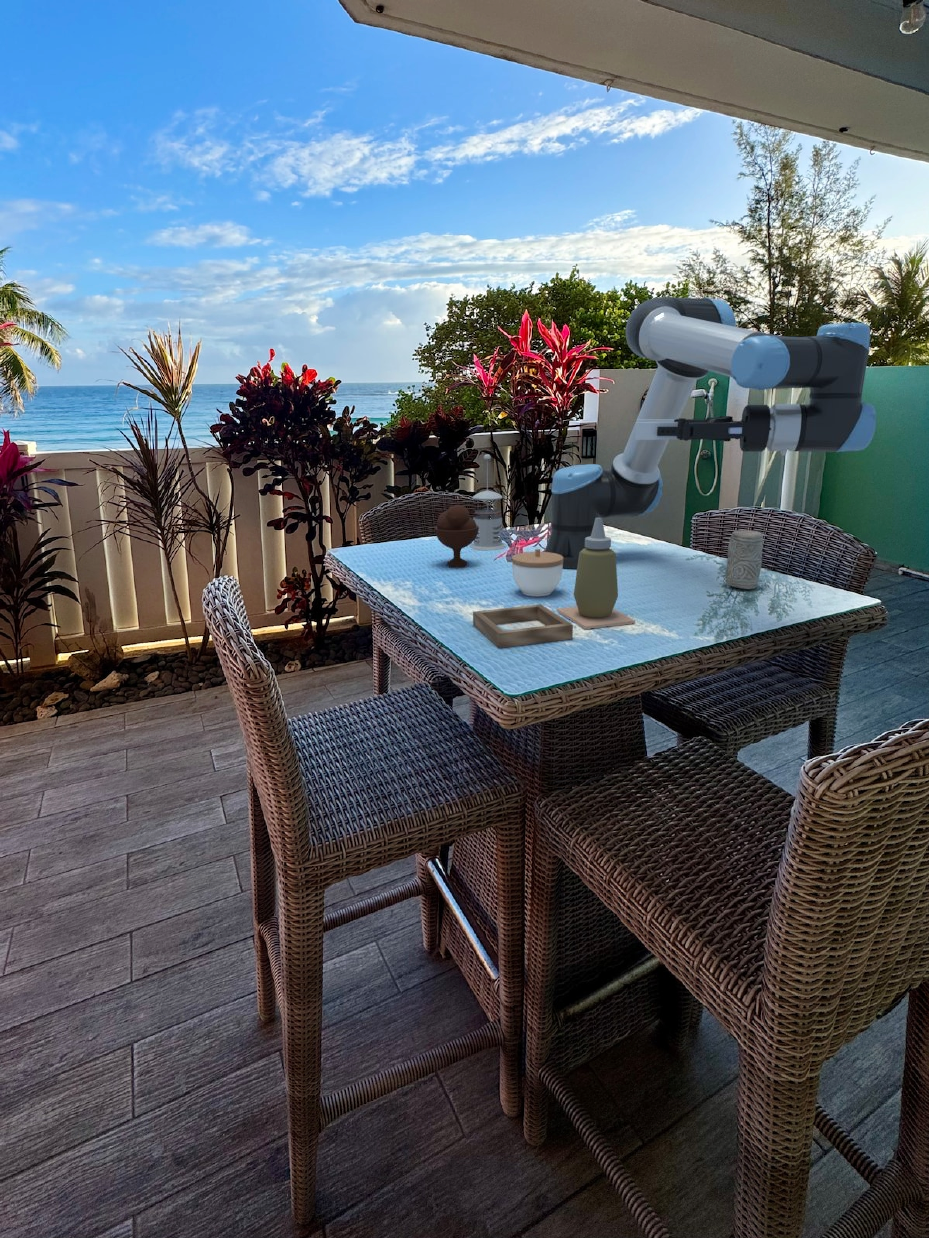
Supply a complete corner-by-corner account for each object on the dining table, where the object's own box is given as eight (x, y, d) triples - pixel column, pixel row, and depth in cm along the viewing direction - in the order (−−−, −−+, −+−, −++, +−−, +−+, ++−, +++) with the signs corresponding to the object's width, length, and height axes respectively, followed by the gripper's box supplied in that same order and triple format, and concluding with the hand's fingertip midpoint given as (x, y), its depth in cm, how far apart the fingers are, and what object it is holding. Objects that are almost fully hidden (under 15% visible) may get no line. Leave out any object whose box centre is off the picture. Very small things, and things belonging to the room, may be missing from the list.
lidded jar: (529, 602, 144) (529, 556, 141) (502, 590, 153) (502, 547, 150) (572, 595, 149) (574, 550, 146) (544, 584, 158) (544, 542, 155)
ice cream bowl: (487, 562, 178) (486, 502, 174) (463, 572, 170) (461, 508, 165) (451, 558, 184) (450, 500, 179) (426, 567, 175) (424, 505, 171)
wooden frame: (540, 617, 134) (540, 604, 133) (572, 638, 122) (572, 624, 121) (473, 624, 130) (472, 611, 130) (498, 648, 118) (498, 633, 117)
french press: (467, 550, 194) (466, 455, 186) (473, 541, 205) (472, 452, 197) (503, 550, 192) (503, 455, 185) (508, 542, 203) (508, 452, 196)
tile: (603, 606, 140) (603, 603, 140) (635, 623, 129) (635, 620, 129) (556, 611, 138) (556, 608, 137) (585, 629, 127) (585, 626, 126)
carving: (765, 588, 151) (772, 532, 148) (742, 593, 148) (747, 536, 144) (740, 582, 156) (746, 527, 153) (717, 587, 153) (722, 531, 149)
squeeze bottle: (617, 621, 129) (622, 522, 123) (571, 619, 130) (574, 521, 125) (617, 609, 136) (621, 514, 131) (574, 607, 138) (577, 514, 133)
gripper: (778, 457, 108) (634, 457, 112) (754, 446, 131) (635, 446, 135) (784, 406, 105) (636, 407, 110) (758, 403, 129) (637, 405, 133)
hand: (635, 429), depth 123 cm, fingers open, 13 cm apart
